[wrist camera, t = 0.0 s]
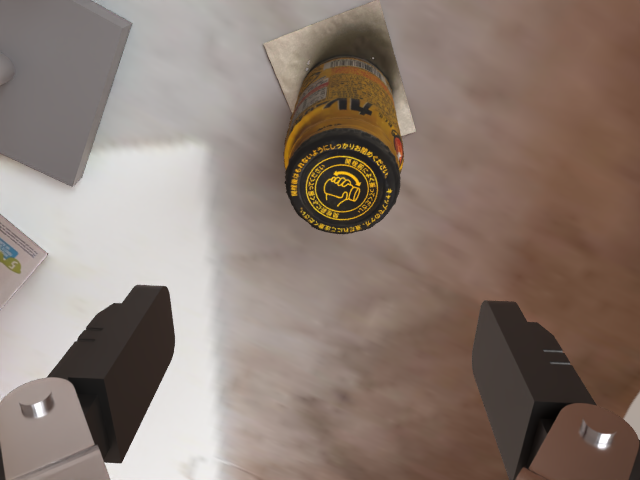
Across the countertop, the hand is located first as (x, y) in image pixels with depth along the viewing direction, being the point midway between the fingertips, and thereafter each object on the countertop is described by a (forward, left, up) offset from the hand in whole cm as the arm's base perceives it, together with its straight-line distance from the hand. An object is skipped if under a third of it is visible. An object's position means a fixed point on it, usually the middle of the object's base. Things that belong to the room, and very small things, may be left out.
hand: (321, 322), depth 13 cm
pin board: (+10, -18, -22) cm, 30 cm away
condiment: (+1, +1, -23) cm, 23 cm away
